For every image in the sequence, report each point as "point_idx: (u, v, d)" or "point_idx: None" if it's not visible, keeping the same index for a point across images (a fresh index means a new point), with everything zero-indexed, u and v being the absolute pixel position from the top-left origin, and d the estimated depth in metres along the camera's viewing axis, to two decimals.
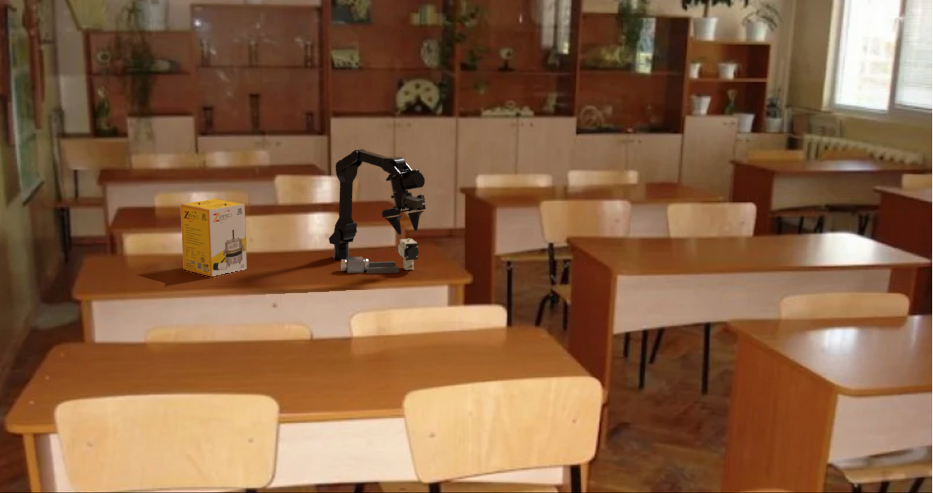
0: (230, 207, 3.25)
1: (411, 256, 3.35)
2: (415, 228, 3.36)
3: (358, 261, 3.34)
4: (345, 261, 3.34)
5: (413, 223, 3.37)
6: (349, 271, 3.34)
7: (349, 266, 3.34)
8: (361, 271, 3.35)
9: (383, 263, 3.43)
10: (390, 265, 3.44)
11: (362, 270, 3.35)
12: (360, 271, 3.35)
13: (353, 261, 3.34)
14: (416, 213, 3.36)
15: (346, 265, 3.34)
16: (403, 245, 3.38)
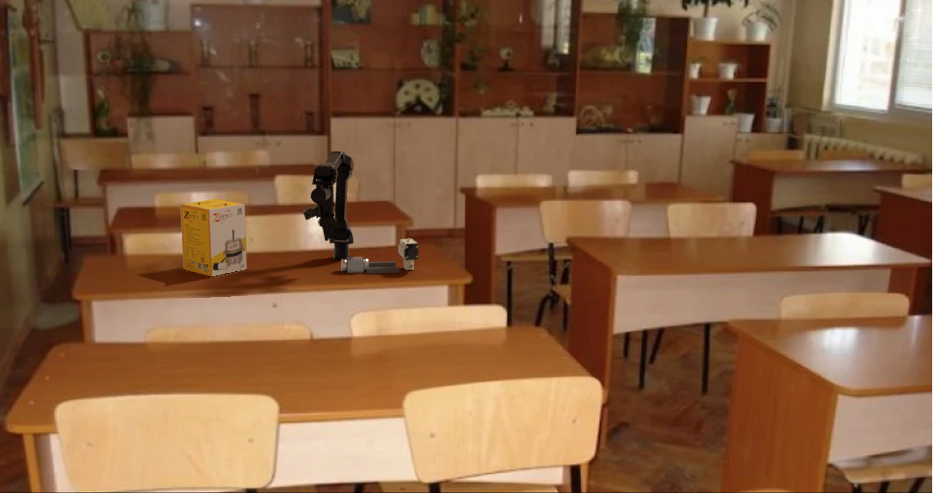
0: (230, 207, 3.25)
1: (411, 256, 3.35)
2: None
3: (358, 261, 3.34)
4: (345, 261, 3.34)
5: None
6: (349, 271, 3.34)
7: (349, 266, 3.34)
8: (361, 271, 3.35)
9: (383, 263, 3.43)
10: (390, 265, 3.44)
11: (362, 270, 3.35)
12: (360, 271, 3.35)
13: (353, 261, 3.34)
14: None
15: (346, 265, 3.34)
16: (403, 245, 3.38)
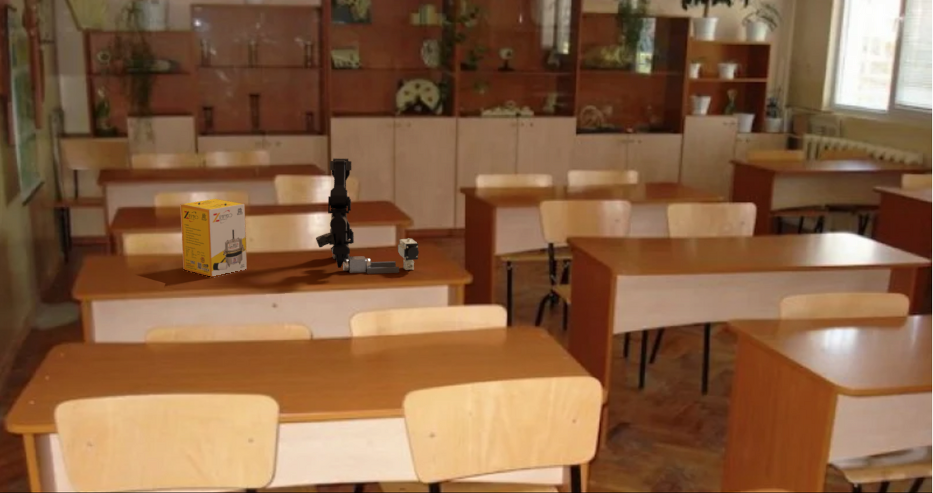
0: (230, 207, 3.25)
1: (411, 256, 3.35)
2: None
3: (360, 261, 3.34)
4: (347, 261, 3.34)
5: None
6: (351, 271, 3.34)
7: (352, 266, 3.34)
8: (363, 271, 3.35)
9: (383, 263, 3.43)
10: (390, 265, 3.44)
11: (364, 270, 3.35)
12: (362, 271, 3.35)
13: (355, 261, 3.34)
14: None
15: (348, 265, 3.34)
16: (403, 245, 3.38)
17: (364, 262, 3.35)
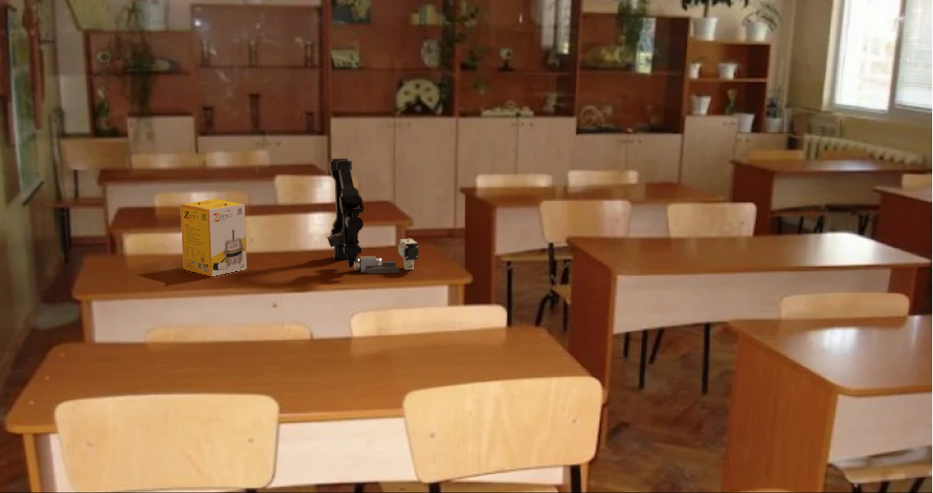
0: (230, 207, 3.25)
1: (411, 256, 3.35)
2: None
3: (371, 260, 3.35)
4: (358, 260, 3.35)
5: None
6: (362, 270, 3.35)
7: (363, 265, 3.35)
8: None
9: (383, 263, 3.43)
10: (390, 265, 3.44)
11: None
12: None
13: (366, 260, 3.35)
14: None
15: (359, 264, 3.35)
16: (403, 245, 3.38)
17: (375, 262, 3.36)
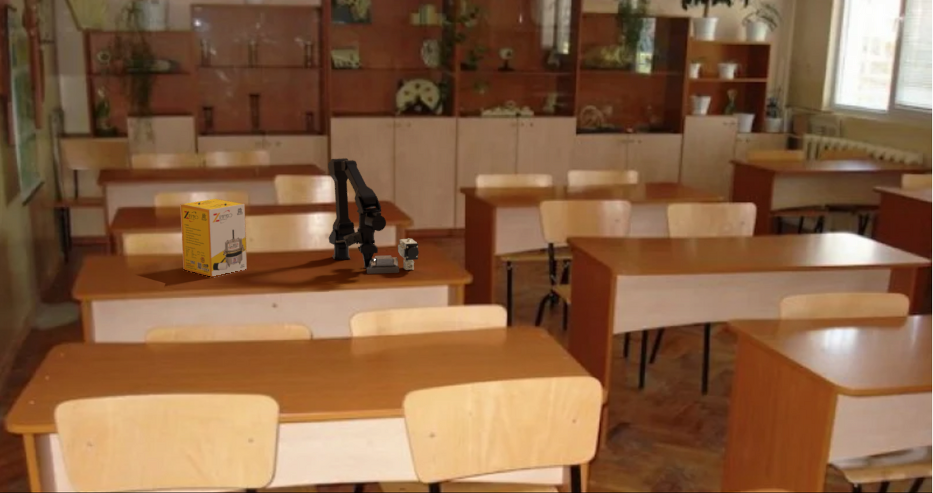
0: (230, 207, 3.25)
1: (411, 256, 3.35)
2: None
3: (387, 260, 3.37)
4: (374, 260, 3.37)
5: None
6: None
7: (379, 265, 3.36)
8: None
9: None
10: None
11: None
12: None
13: (382, 260, 3.36)
14: None
15: (375, 264, 3.36)
16: (403, 245, 3.38)
17: (391, 261, 3.37)
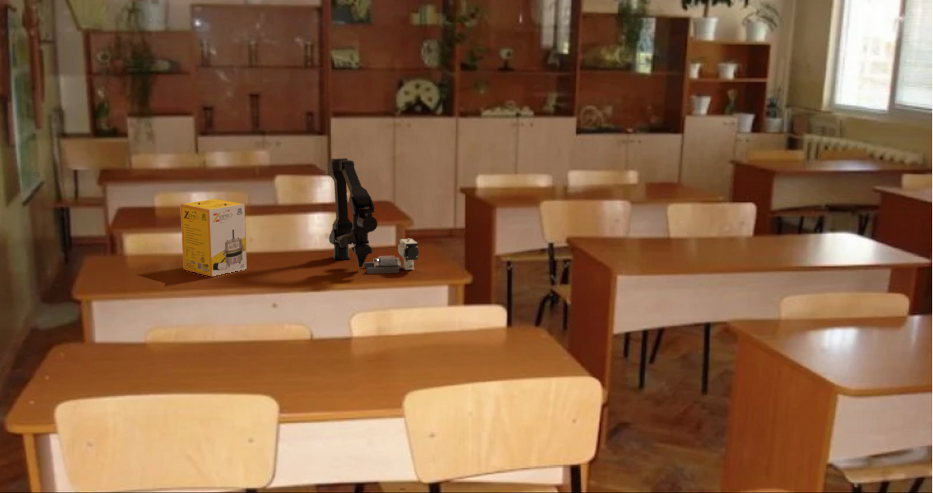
0: (230, 207, 3.25)
1: (411, 256, 3.35)
2: None
3: (390, 260, 3.37)
4: (378, 260, 3.37)
5: None
6: None
7: (382, 265, 3.37)
8: None
9: None
10: None
11: None
12: None
13: (386, 260, 3.37)
14: None
15: (379, 264, 3.37)
16: (403, 245, 3.38)
17: (394, 261, 3.37)
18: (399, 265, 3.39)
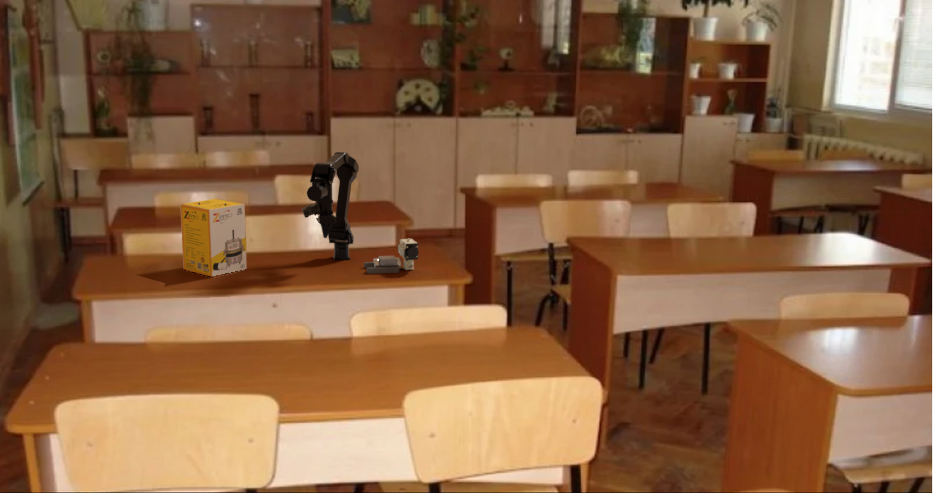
0: (230, 207, 3.25)
1: (411, 256, 3.35)
2: None
3: (390, 260, 3.37)
4: (378, 260, 3.37)
5: None
6: None
7: (382, 265, 3.37)
8: None
9: None
10: None
11: None
12: None
13: (386, 260, 3.37)
14: None
15: (379, 264, 3.37)
16: (403, 245, 3.38)
17: (394, 261, 3.37)
18: (399, 265, 3.39)
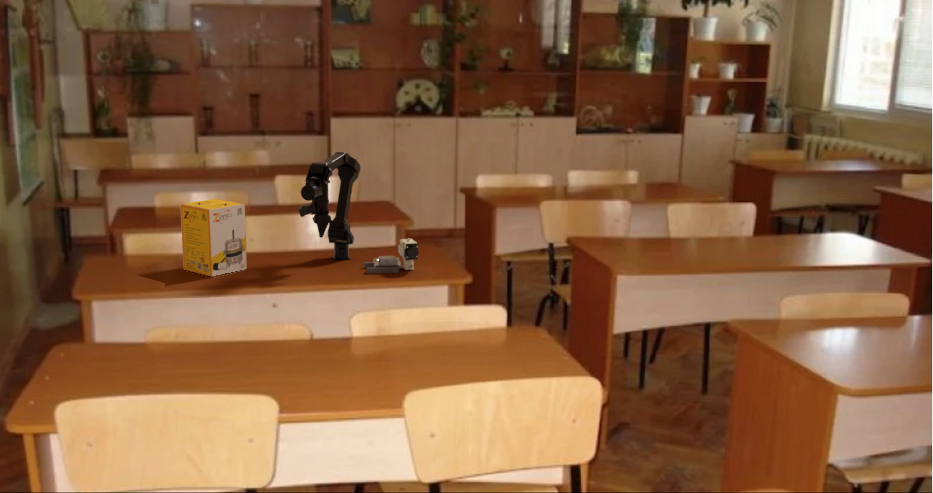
0: (230, 207, 3.25)
1: (411, 256, 3.35)
2: None
3: (390, 260, 3.37)
4: (378, 260, 3.37)
5: None
6: None
7: (382, 265, 3.37)
8: None
9: None
10: None
11: None
12: None
13: (386, 260, 3.37)
14: None
15: (379, 264, 3.37)
16: (403, 245, 3.38)
17: (394, 261, 3.37)
18: (399, 265, 3.39)
